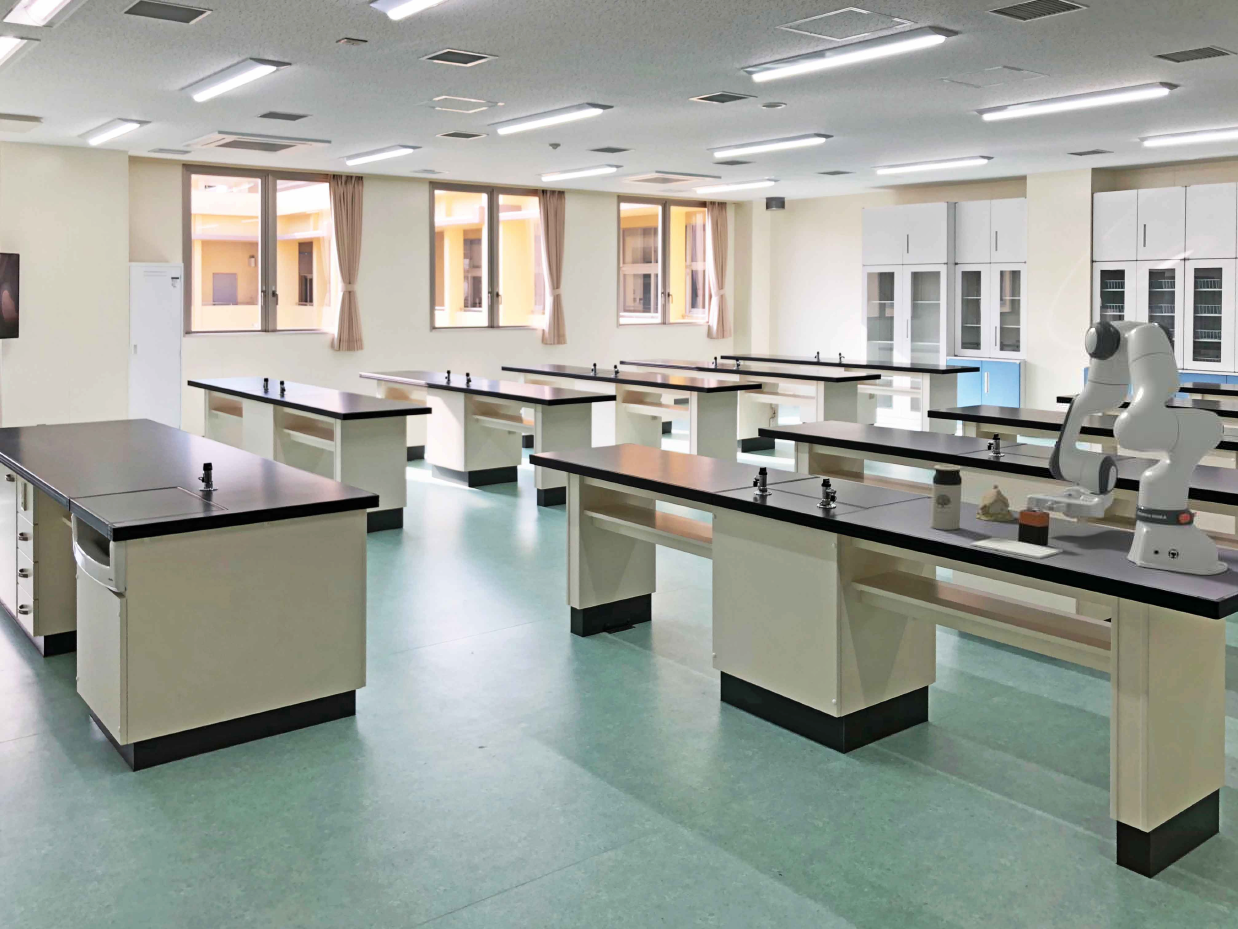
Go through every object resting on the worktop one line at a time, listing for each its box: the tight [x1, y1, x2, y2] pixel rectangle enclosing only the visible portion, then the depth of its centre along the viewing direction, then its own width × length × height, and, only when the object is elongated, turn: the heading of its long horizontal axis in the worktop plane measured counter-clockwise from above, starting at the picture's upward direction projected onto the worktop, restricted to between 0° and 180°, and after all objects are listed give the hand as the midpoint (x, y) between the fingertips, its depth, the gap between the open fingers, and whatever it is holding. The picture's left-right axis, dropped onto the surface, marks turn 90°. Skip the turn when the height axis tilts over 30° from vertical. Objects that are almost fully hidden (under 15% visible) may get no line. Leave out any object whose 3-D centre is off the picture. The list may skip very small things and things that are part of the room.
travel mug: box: [930, 464, 963, 531], centre depth 319 cm, size 8×8×18 cm
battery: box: [1017, 506, 1051, 547], centre depth 298 cm, size 4×7×10 cm, turn 33°
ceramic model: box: [975, 484, 1015, 522], centre depth 336 cm, size 14×11×10 cm
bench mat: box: [969, 536, 1064, 560], centre depth 293 cm, size 20×12×1 cm, turn 40°
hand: (1050, 508), depth 302 cm, fingers closed
